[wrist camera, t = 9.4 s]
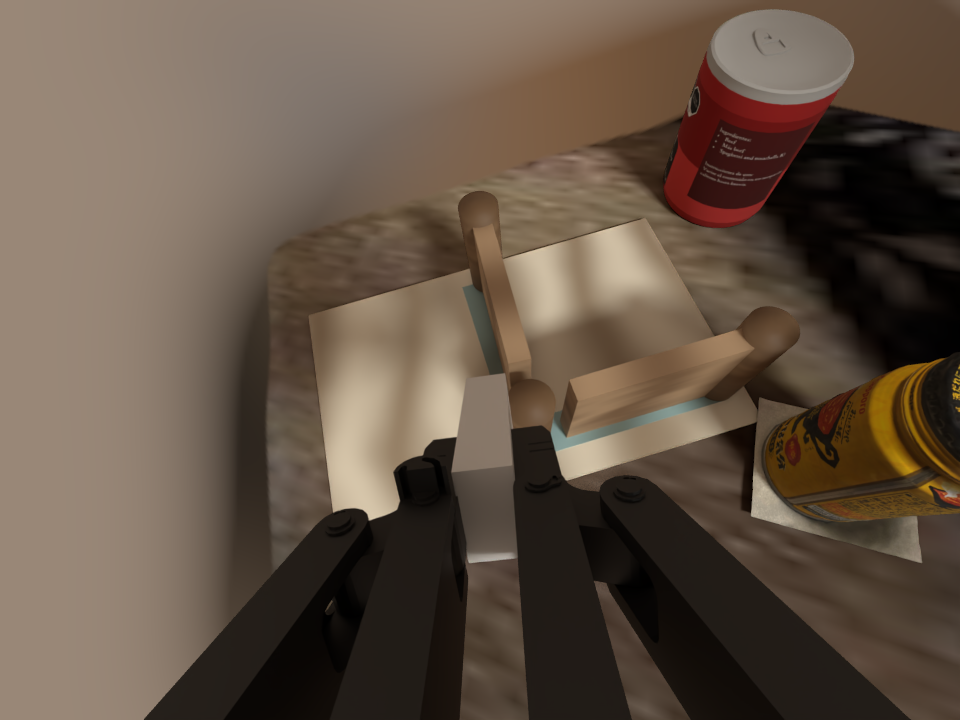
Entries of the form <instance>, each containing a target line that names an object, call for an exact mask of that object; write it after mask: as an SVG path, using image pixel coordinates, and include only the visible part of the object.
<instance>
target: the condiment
mask: <svg viewBox="0 0 960 720" xmlns="http://www.w3.org/2000/svg"><path fill="white" fill-rule="evenodd" d="M954 513H960V352H956V353H954V354H952V355H951V356H949V357H947V358H943V359H939V360H936V361H933V362H931V363H922V364H915V365H908V366H905V367H900V368H898V369H895V370H893V371H891V372H888V373H886V374H884V375H880V376H878V377H876V378H874V379H872V380H871V381H869V382H867V383H865V384H863V385H861V386H859V387H856V388H854V389H852V390H849V391H848V392H845V393H842V394H839V395H837V396H835V397H834V398H832V399H830V400H827V401H825V402H823V403H821V404H819V405H817V406H815V407H812V408H810V409H804V408H801V407H796V406H791V405H787V404H784V403H779V402H774V401H770V400H766V399H763V398H761V397H759V407H758V416H757V427H756V441H755V455H754V470H753V496H752V510H751V516H752V517H756V518H759V519H763V520H766V521H770V522H774V523H777V524H780V525H784V526H788V527H792V528H795V529H798V530H802V531H806V532H809V533H813V534H817V535H820V536H824V537H828V538H832V539H835V540H839V541H843V542H847V543H851V544H855V545H857V546H861V547H865V548H868V549H872V550H875V551H878V552H882V553H886V554H890V555H894V556H898V557H902V558H905V559H909V560H912V561H916V562H920V563H922V560H921V549H920V546H919V542H918V540H919V537H918V528H917V516H923V515H938V514H954Z"/></svg>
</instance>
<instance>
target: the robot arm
mask: <svg viewBox="0 0 960 720" xmlns="http://www.w3.org/2000/svg"><path fill="white" fill-rule="evenodd" d="M393 474H394V478H395V482H396V486H397V490H398V495H399V499H400V502H399V505H398V508H397V510H396V511H394V512H392V513H389V514H387V515H384V516H381V517H378V518H375V519H372V520H369V518H368V514H367V513H366V512H365V511H364V510H362V509H357V508H349V509H342V510H340V511H339V510H338V511H336V512H334V513H332V514H330V515H328V516H326V517H325V518H323V519H322V520H321V521H320V522H319V523H318V524H317V525H316V526H315V527H314V528H313V529H312V530H311V531H310V533H309V534H308V535H307V536H306V537H305V538H304V539H303V540H302V542H301V543H300V544H299V545H298V546H297V547H296V548H295V549H294V551H293V552H292V553H291V554H290V555H289V556H288V557H287V558H286V560H285V561H284V562H283V563H282V564H281V565H280V566H279V568H278V569H277V570H276V571H275V572H274V573H273V574H272V575H271V577H270V578H269V579H268V580H267V581H266V582H265V583H264V584H263V586H262V587H261V588H260V589H259V590H258V591H257V592H256V594H255V595H254V596H253V597H252V598H251V599H250V600H249V601H248V602H247V604H246V605H245V606H244V607H243V608H242V609H241V610H240V612H239V613H238V614H237V615H236V616H235V617H234V618H233V619H232V621H231V622H230V623H229V624H228V625H227V626H226V627H225V628H224V630H223V631H222V632H221V633H220V634H219V635H218V636H217V638H216V639H215V640H214V641H213V642H212V643H211V644H210V645H209V647H208V648H207V649H206V650H205V651H204V652H203V653H202V654H201V656H200V657H199V658H198V659H197V660H196V661H195V662H194V663H193V665H192V666H191V667H190V668H189V669H188V670H187V671H186V672H185V674H184V675H183V676H182V677H181V678H180V679H179V680H178V682H177V683H176V684H175V685H174V686H173V687H172V688H171V689H170V691H169V692H168V693H167V694H166V695H165V696H164V697H163V698H162V700H161V701H160V702H159V703H158V704H157V705H156V706H155V707H154V709H153V710H152V711H151V712H150V713H149V714H148V715H147V716H146V718H145V719H144V720H459V718H460V702H461V686H462V670H463V654H464V638H465V623H466V607H467V591H468V575H467V570H466V565H465V557H466V551H467V556H468V561H469V563H474V562H484V561H494V560H504V559H513V558H518V568H519V582H520V596H521V610H522V625H523V639H524V653H525V667H526V682H527V696H528V710H529V720H632V719H631V715H630V711H629V708H628V704H627V700H626V697H625V693H624V689H623V686H622V682H621V678H620V675H619V671H618V667H617V664H616V660H615V656H614V653H613V649H612V646H611V642H610V638H609V635H608V631H607V627H606V624H605V620H604V616H603V613H602V609H601V605H600V602H599V598H598V594H597V591H596V587H595V583H594V581H599V582H605V583H607V586H608V588H609V591H610V593H611V594H612V596H613V598H614V599H615V601H616V602H617V604H618V605H619V607H620V609H621V610H622V612H623V613H624V615H625V616H626V618H627V620H628V621H629V623H630V624H631V626H632V628H633V629H634V631H635V632H636V634H637V635H638V637H639V639H640V640H641V642H642V643H643V645H644V646H645V648H646V650H647V651H648V653H649V654H650V656H651V657H652V659H653V661H654V662H655V664H656V665H657V667H658V669H659V670H660V672H661V673H662V675H663V676H664V678H665V680H666V681H667V683H668V684H669V686H670V687H671V689H672V691H673V692H674V694H675V695H676V697H677V699H678V700H679V702H680V703H681V705H682V706H683V708H684V710H685V711H686V713H687V714H688V716H689V717H690V719H691V720H911V719H909V718H908V717H907V716H906V715H905V714H904V713H903V712H902V711H901V710H900V709H899V708H898V707H896V706H895V705H894V704H893V703H892V702H891V701H890V700H889V699H888V698H887V697H886V696H884V695H883V694H882V693H881V692H880V691H879V690H878V689H877V688H876V687H875V686H874V685H873V684H871V683H870V682H869V681H868V680H867V679H866V678H865V677H864V676H863V675H862V674H861V673H860V672H858V671H857V670H856V669H855V668H854V667H853V666H852V665H851V664H850V663H849V662H848V661H846V660H845V659H844V658H843V657H842V656H841V655H840V654H839V653H838V652H837V651H836V650H835V649H833V648H832V647H831V646H830V645H829V644H828V643H827V642H826V641H825V640H824V639H823V638H822V637H820V636H819V635H818V634H817V633H816V632H815V631H814V630H813V629H812V628H811V627H810V626H808V625H807V624H806V623H805V622H804V621H803V620H802V619H801V618H800V617H799V616H798V615H797V614H795V613H794V612H793V611H792V610H791V609H790V608H789V607H788V606H787V605H786V604H785V603H784V602H782V601H781V600H780V599H779V598H778V597H777V596H776V595H775V594H774V593H773V592H772V591H770V590H769V589H768V588H767V587H766V586H765V585H764V584H763V583H762V582H761V581H760V580H759V579H757V578H756V577H755V576H754V575H753V574H752V573H751V572H750V571H749V570H748V569H747V568H746V567H744V566H743V565H742V564H741V563H740V562H739V561H738V560H737V559H736V558H735V557H734V556H733V555H731V554H730V553H729V552H728V551H727V550H726V549H725V548H724V547H723V546H722V545H721V544H719V543H718V542H717V541H716V540H715V539H714V538H713V537H712V536H711V535H710V534H709V533H708V532H706V531H705V530H704V529H703V528H702V527H701V526H700V525H699V524H698V523H697V522H696V521H695V520H693V519H692V518H691V517H690V516H689V515H688V514H687V513H686V512H685V511H684V510H683V509H681V508H680V507H679V506H678V505H677V504H676V503H675V502H674V501H673V500H672V499H671V498H670V497H668V496H667V495H666V494H665V493H664V492H663V491H662V490H661V489H660V488H659V487H658V486H657V485H655V484H654V483H652V482H651V481H649V480H648V479H644V478H641V477H638V476H629V475H624V476H617V477H613V478H611V479H608V480H606V481H605V482H604V483H603V484H602V485H601V487H600V491H599V492H595V491H587V490H581V489H578V488H575V487H573V486H571V485H570V484H568V483H567V481H566V480H565V478H564V477H563V475H562V474H561V470H560V466H559V462H558V459H557V455H556V451H555V447H554V444H553V440H552V436H551V433H550V431H548V430H547V429H546V428H545V427H543V426H542V425H540V426H531V427H523V428H515V429H513V425H512V418H511V411H510V404H509V397H508V390H507V383H506V375H505V373H503V374H495V375H488V376H480V377H473V378H466V383H465V390H464V396H463V402H462V408H461V415H460V421H459V427H458V433H457V437H452V438H444V439H436V440H433V441H432V442H431V443H430V444H429V445H428V446H427V447H426V448H425V450H424V453H423V455H422V456H417V457H413V458H411V459H408V460H406V461H404V462H402V463H401V464H400V465H398V466H397V467H396V469H395V470H394V472H393ZM331 600H332V601H333V603H332V604H331V605H330V607H329V608H328V610H327V611H326V612H325V610H326V608H327V606H328V604H329V603H330V601H331Z"/></svg>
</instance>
